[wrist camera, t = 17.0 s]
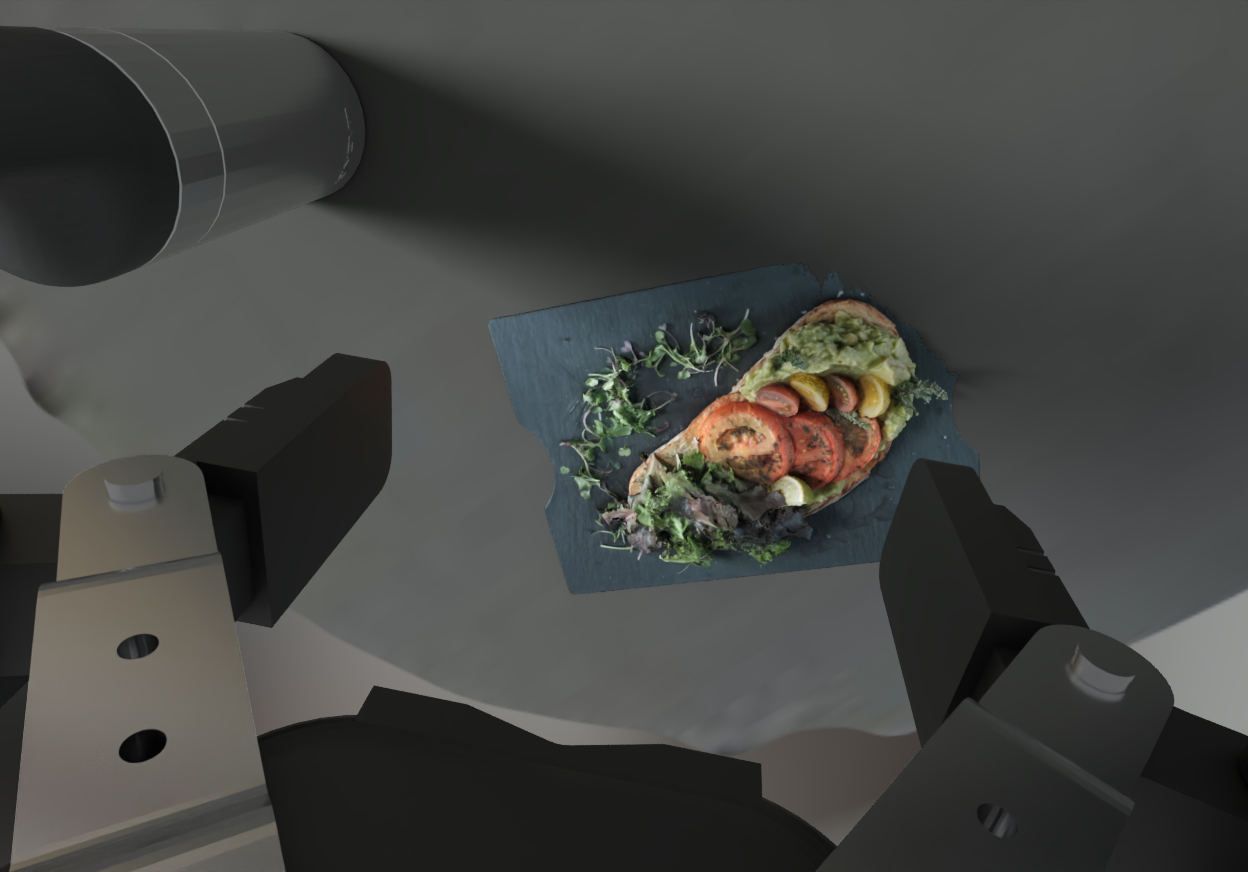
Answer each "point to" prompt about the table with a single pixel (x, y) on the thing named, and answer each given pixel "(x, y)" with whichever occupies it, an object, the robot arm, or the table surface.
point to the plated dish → (725, 425)
